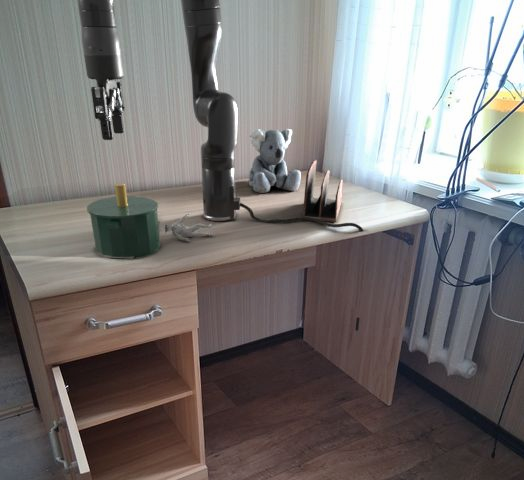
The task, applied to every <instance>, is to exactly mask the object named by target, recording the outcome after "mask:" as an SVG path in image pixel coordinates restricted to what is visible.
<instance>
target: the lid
mask: <svg viewBox="0 0 524 480" xmlns="http://www.w3.org/2000/svg"><path fill="white" fill-rule="evenodd" d="M114 188H115V194H116V195H115V196H111V197H105V198H101V199H97V200H95V201H92V202H91V203H89V204H88V205H87V206H86V210H87V213H88V214H89V215H90V214H91V215H93V216H96V217H101V218H109V219H124V218H134V217H140V216H144V215H147V214H150V213H152V212H154V211H156V210H157V211H158V208H159V203H158V202H157V201H155V200H154V199H152V198H149V197H145V196H136V195H135V196H133V195H132V196H131V195H127V186H126V183H123V182H119V183H115V184H114Z"/></svg>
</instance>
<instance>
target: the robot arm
mask: <svg viewBox="0 0 524 480" xmlns="http://www.w3.org/2000/svg"><path fill="white" fill-rule="evenodd" d="M76 2H77V10H78V16H79V22H80V23H79V25H80V31H81V33H80V35H81V46H82V51H83V57H84V58H83V59H84V64H85V72H86V77H87V78H88V79H90V80H95V81H96V86H91V87H90V92H91V99H92V106H93V114H94V119H95V120H98V122H99V124H100V131H101V137H102V140H104V141H112V140H113V139H114V134H124V132H125V127H124V121H123V120H124V119H123V115H124V112H125V110H126V107H125V101H124V93H123V84H122V82H121V81H117V80H121V79H123V78H124V77H125V73H124V65H123V59H122V58H123V57H122V48H121V41H120V36H119V32H118V27H117V18H116V17H117V16H116V9H115V0H77V1H76ZM180 3H181V11H182V20H183V25H184V31H185V36H186V37H185V38H186V43H187V51H188V59H189V60H188V61H189V66H190V74H191V91H192V108H193V113H194V117H195V119H196V121H197V122H198V123H199V124H200V125H201V126H202V127H205V128H207V139H206V141H205V142H203V143H202V144H201V146H200V163H201V164H200V165H201V182H202V203H203V205H202V206H203V209H202V211H203V213H202V214H203V216H202V217H203V218H204V219H205V220H208V221H212V222H226V221H234V220H235V219H236V215H237V211H240V209H241V208H243V209H245V210H246V211H247V212H248V213H249V214H250V215H249V216H250V217H251V219H253V221H255V222H259V223H267V224H275V223H291V222H296V221H310V222H314V223H318V224H320V225H323V226H326V227H330V228H344V227H354V228H356V229H357V230H359V231H360V232H364V228H363V227H362V226H361V225H360V224H357V223H355V222H342V223H332V222H325V221H321V220H318V219H315V218H310V217H303V216H297V217H296V216H295V217H290V218H274V219H271V218H270V219H261V218H259V217H257V216H256V215H255V214H254V212H253V210H252V208H250V207H249V206H248V205H246V204H244V203H242V202H241V197H236V194H237V191H236V189H237V188H236V187H237V186H236V180H235V175H236V173H235V150H236V148H237V143H238V126H239V111H238V110H239V109H238V104H237V101H236V100H235V98H234V97H233V96H232V94H230V93H228V92H224V91H220V89H219V83H218V78H217V62H218V61H217V60H218V55H219V51H220V48H221V43H222V38H223V20H222V11H221V3H220V0H180ZM360 320H361V318H360V317H356V320H355V328H354V329H355V331H356V332H357V331H359V326H360Z"/></svg>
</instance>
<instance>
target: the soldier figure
mask: <svg viewBox="0 0 524 480" xmlns="http://www.w3.org/2000/svg"><path fill="white" fill-rule="evenodd" d="M188 216H190V213H186V214H185V215H183V216H182V217H181V218H179V219H178V221H176V222H174V223H172V226H171V224H170V225H168V224H164V233H165V234H167V233H168V232H171V233H172V235H173V236H174V237H175V238H176V239H177V240H179V241H182V242H185V241H186V242H189V241H190V238H195V237H201V238H202V237H205V236H208V237H212V234H213V232H202V231H200V230H199V229H205V228H207V229H211V228H213V227H212V226H213V223H210V224H203V223H200V222H199V223H196V224H193V225H192V226H187V225H185V224H182V223H184V221H185V219H186V218H188ZM198 230H199V231H198Z"/></svg>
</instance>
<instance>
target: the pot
mask: <svg viewBox="0 0 524 480" xmlns="http://www.w3.org/2000/svg"><path fill="white" fill-rule="evenodd" d="M89 216H90V222H91V228H92V234H93V235H92V236H93V239H94V240H93V241H94V245H95V247H94V248H95V250H96V252H97V253H99V254H100V255H102V256H107V257H110V260H111V259H112V260H134V259H139V258H144V257H148V256H151V255H153V254H155V253H157V252H158V251H159V250H160V247H161V237H160V236H161V235H160V226H159V216H158V209H157V210H156V211H154V212H152V213H150V214H147V215H144V216H140V217H134V218H124V219H109V218H101V217H96V216H93V215H91V214H89Z"/></svg>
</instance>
